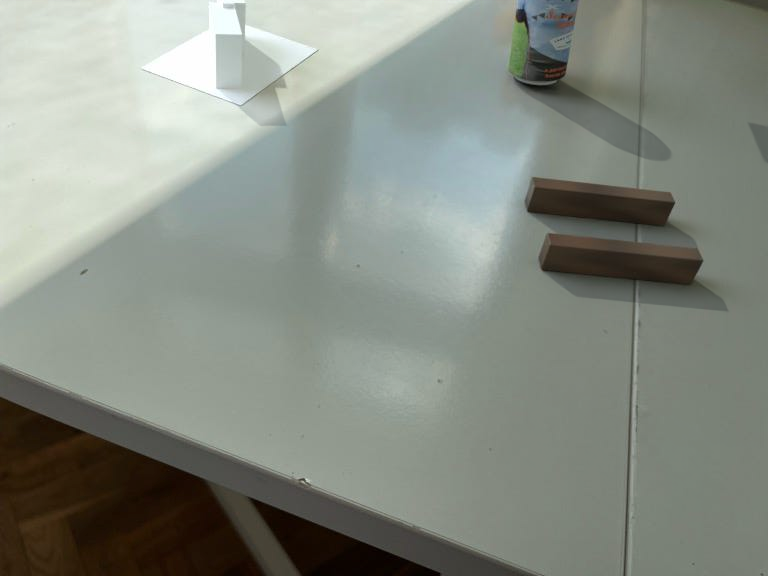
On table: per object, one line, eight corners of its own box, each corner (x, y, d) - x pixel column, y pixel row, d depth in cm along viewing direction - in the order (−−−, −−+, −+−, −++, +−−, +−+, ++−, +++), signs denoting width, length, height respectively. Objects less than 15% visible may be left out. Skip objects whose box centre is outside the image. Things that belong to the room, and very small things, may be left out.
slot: (659, 215, 67) (670, 191, 66) (691, 285, 61) (704, 260, 59) (524, 201, 66) (531, 176, 65) (541, 270, 60) (550, 244, 58)
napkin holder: (242, 106, 72) (243, 47, 68) (138, 68, 74) (134, 10, 70) (318, 49, 82) (323, -5, 79) (225, 18, 85) (225, -36, 81)
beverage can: (540, 99, 81) (574, -17, 73) (485, 70, 84) (512, -44, 76) (573, 84, 84) (609, -28, 77) (519, 56, 88) (548, -54, 80)
